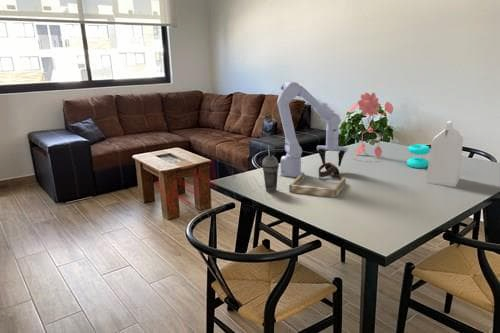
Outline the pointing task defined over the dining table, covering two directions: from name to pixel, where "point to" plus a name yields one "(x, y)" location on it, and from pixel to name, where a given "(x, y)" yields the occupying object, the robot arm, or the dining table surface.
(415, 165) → the donuts
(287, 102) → the robot arm
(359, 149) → the pink flower ornament
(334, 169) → the brown piece
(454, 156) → the milk
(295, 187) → the wooden tray
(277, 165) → the beverage cup
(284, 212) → the dining table surface
